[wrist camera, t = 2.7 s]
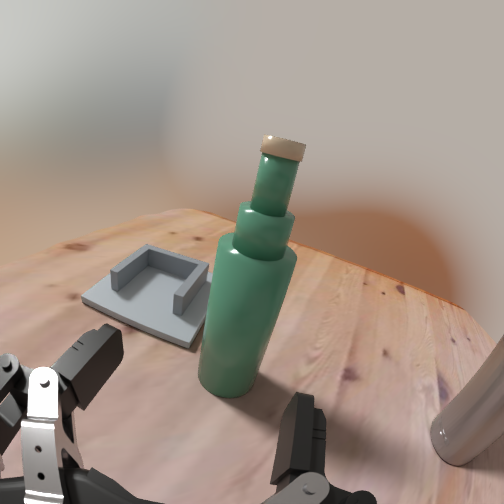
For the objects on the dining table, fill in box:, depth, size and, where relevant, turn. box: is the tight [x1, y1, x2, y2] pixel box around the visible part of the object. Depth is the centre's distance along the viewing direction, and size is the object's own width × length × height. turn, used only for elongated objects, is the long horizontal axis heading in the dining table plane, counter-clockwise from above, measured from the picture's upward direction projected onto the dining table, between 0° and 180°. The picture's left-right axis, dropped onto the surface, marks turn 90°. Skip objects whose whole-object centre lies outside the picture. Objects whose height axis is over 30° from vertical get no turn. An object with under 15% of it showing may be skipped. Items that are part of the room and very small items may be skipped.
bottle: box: [198, 134, 306, 398], centre depth 22 cm, size 6×6×23 cm
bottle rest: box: [81, 244, 213, 349], centre depth 36 cm, size 16×16×4 cm
